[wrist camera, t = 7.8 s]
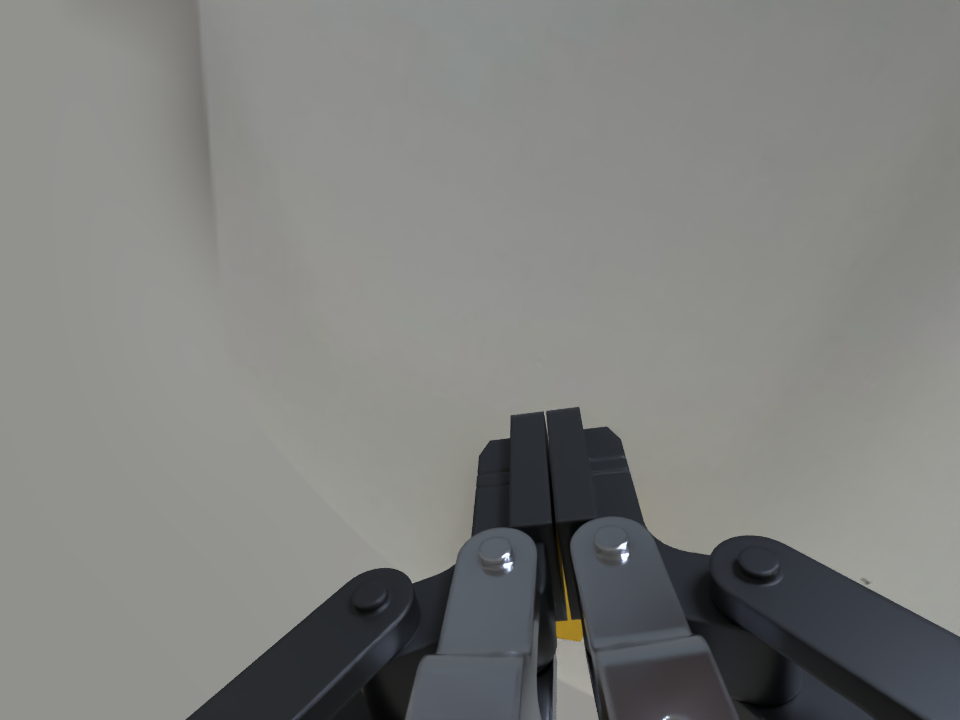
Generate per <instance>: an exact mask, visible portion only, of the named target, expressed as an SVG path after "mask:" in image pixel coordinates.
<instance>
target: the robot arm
mask: <svg viewBox="0 0 960 720" xmlns="http://www.w3.org/2000/svg"><path fill="white" fill-rule="evenodd" d="M546 415H547V426H548V435H547V429H546V422H545V416H544V412H535V413H527V414H519V415H511V427H510V438H508V439H500V440H491V441H489V443H488V444H487V446H486V447H485V448H484V450H483V451H482V453H481V454H480V455H479V463H478V475H477V484H476V486H477V489H476V494H475V505H474V515H473V526H472V536H471V538H470V539H469V540H468V541H467V542H466V543H465V544H464V545H463V546H462V548H461V549H460V551H459V553H458V556H457V560H456V564H455V565H453V566H452V567H451V568H449V569H448V570H446V571H444V572H442V573H440V574H437V575H435V576H432V577H430V578H427V579H424V580H421V581H419V582H416V583H413V584H412V582H411V580H410V579H409V577H408V576H407V575H406V574H404V573H403V572H401V571H399V570H396V569H391V568H379V569H374V570H370V571H367V572H364V573H362V574H360V575H358V576H356V577H355V578H353V579H352V580H350V581H349V582H347V583H346V584H345V585H344V586H343V587H341V588H340V589H339V590H338V591H337V592H336V593H334V594H333V595H332V596H331V597H330V598H329V599H327V600H326V601H325V602H324V603H323V604H322V605H320V606H319V607H318V608H317V609H316V610H314V611H313V612H312V613H311V614H310V615H309V616H307V617H306V618H305V619H304V620H303V621H301V622H300V623H299V624H298V625H297V626H296V627H294V628H293V629H292V630H291V631H290V632H288V633H287V634H286V635H285V636H284V637H283V638H281V639H280V640H279V641H278V642H277V643H275V644H274V645H273V646H272V647H271V648H270V649H268V650H267V651H266V652H265V653H264V654H262V655H261V656H260V657H259V658H258V659H257V660H255V661H254V662H253V663H252V664H251V665H250V666H248V667H247V668H246V669H245V670H244V671H242V672H241V673H240V674H239V675H238V676H237V677H235V678H234V679H233V680H232V681H231V682H229V684H227V685H226V686H225V687H224V688H223V689H221V690H220V691H219V692H218V693H217V694H215V696H213V697H212V698H211V699H210V700H208V701H207V702H206V703H205V704H204V705H202V706H201V707H200V708H199V709H198V710H197V711H195V712H194V713H193V714H192V715H191V716H190V717H188V718H187V719H186V720H556V703H557V658H556V648H557V634H556V621H568V618H567V607H566V597H565V586H564V577H565V583H566V589H567V596H568V602H569V608H570V615H571V620H579V619H581V624H582V631H583V638H584V644H585V651H586V658H587V664H588V669H589V674H590V679H591V683H592V688H593V693H594V698H595V703H596V708H597V712H598V718H599V720H960V637H959V636H957V635H955V634H953V633H951V632H950V631H948V630H946V629H944V628H942V627H940V626H938V625H936V624H934V623H933V622H931V621H929V620H927V619H925V618H923V617H921V616H919V615H917V614H916V613H914V612H912V611H910V610H908V609H906V608H904V607H902V606H900V605H899V604H897V603H895V602H893V601H891V600H889V599H887V598H885V597H883V596H882V595H880V594H878V593H876V592H874V591H872V590H870V589H868V588H866V587H865V586H863V585H861V584H859V583H857V582H855V581H853V580H851V579H849V578H848V577H846V576H844V575H842V574H840V573H838V572H836V571H834V570H832V569H831V568H829V567H827V566H825V565H823V564H821V563H819V562H817V561H815V560H814V559H812V558H810V557H808V556H806V555H804V554H802V553H800V552H798V551H797V550H795V549H793V548H791V547H789V546H787V545H785V544H783V543H781V542H779V541H776V540H773V539H770V538H766V537H761V536H738V537H733V538H730V539H728V540H725V541H723V542H722V543H720V544H719V545H718V546H717V547H716V548H715V549H714V550H713V552H712V553H711V555H704V554H698V553H692V552H686V551H681V550H678V549H675V548H672V547H670V546H668V545H666V544H664V543H662V542H661V541H659V540H658V539H656V538H655V537H654V536H653V535H652V534H651V533H650V532H649V531H648V529H647V527H646V526H645V523H644V521H643V517H642V514H641V510H640V506H639V503H638V499H637V496H636V492H635V489H634V485H633V481H632V478H631V474H630V472H629V467H628V464H627V460H626V458H625V453H624V449H623V446H622V442H621V439H620V438H619V437H618V436H617V435H616V434H614V433H613V432H612V431H611V430H610V429H609V428H608V427H599V428H591V429H583V425H582V420H581V414H580V409H579V407H574V408H566V409H558V410H550V411H546ZM548 438H549V442H548ZM563 571H564V575H563Z"/></svg>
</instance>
